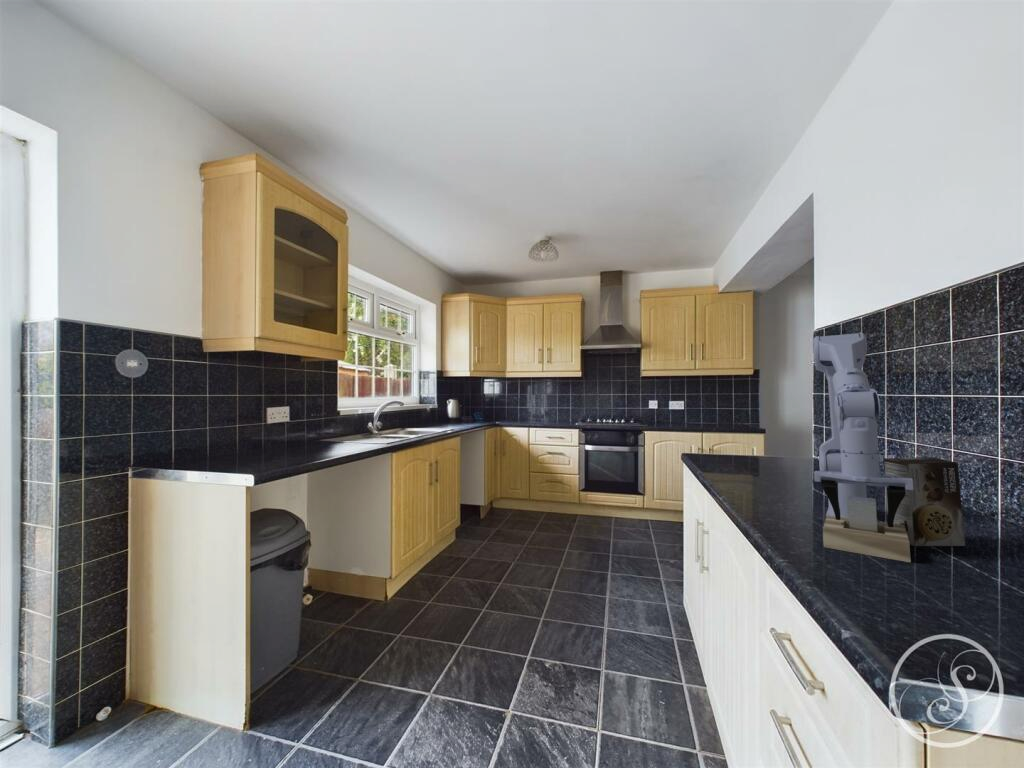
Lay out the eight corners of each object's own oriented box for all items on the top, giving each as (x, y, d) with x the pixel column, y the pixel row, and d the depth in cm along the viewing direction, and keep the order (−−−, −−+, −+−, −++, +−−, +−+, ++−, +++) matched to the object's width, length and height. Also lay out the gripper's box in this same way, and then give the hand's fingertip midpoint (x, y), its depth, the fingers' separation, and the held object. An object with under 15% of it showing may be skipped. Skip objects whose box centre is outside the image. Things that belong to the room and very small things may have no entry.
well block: (827, 531, 87) (826, 514, 87) (905, 543, 79) (904, 525, 79) (823, 547, 78) (822, 528, 78) (910, 562, 70) (909, 542, 70)
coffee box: (934, 535, 83) (929, 457, 83) (966, 547, 76) (960, 461, 77) (886, 535, 84) (881, 457, 84) (914, 546, 77) (908, 462, 78)
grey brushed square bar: (850, 546, 78) (847, 499, 78) (851, 540, 81) (849, 495, 81) (878, 551, 75) (875, 502, 76) (878, 545, 78) (875, 498, 79)
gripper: (811, 452, 81) (815, 520, 80) (912, 457, 71) (918, 535, 71) (814, 448, 86) (818, 512, 86) (909, 453, 77) (914, 525, 76)
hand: (863, 522), depth 79 cm, fingers open, 7 cm apart
